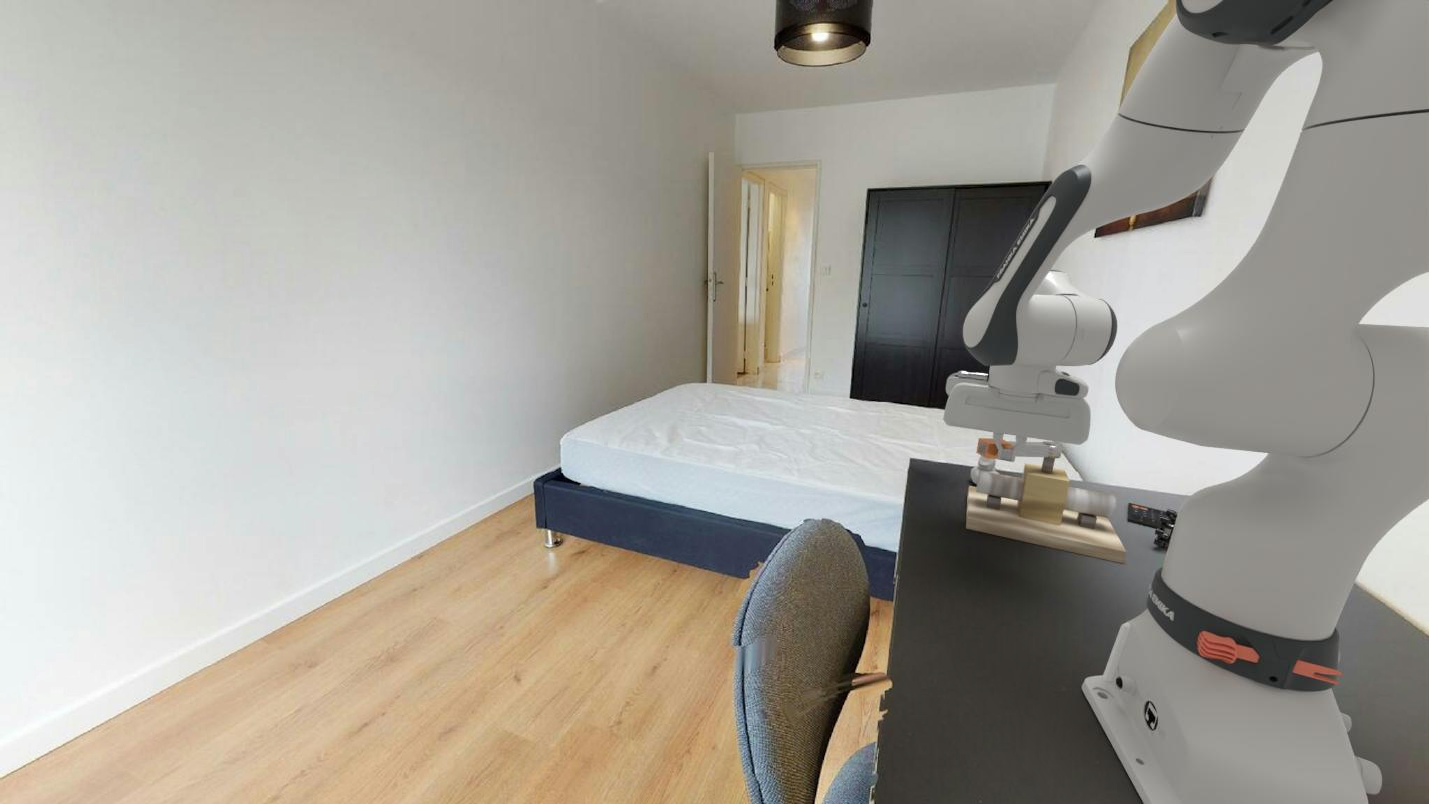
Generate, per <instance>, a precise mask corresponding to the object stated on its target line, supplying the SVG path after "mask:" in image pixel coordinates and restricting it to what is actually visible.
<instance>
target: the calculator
mask: <svg viewBox="0 0 1429 804" xmlns="http://www.w3.org/2000/svg"><path fill="white" fill-rule="evenodd" d="M1166 511H1167V510H1161V509H1156V508H1153V507H1149V506H1144V505H1141V504H1140V505H1139V504H1135V503H1132V502H1128V504H1127V517H1126V518H1127V520H1126V521H1127V523H1131V524H1135V525H1139V526H1142V527H1147V528H1151V529H1154V530H1156V529H1157V528H1159V527H1160V525H1161V523H1160V518H1161V517H1162V516H1164V517H1166ZM1174 520H1176V518H1175V517H1174Z"/></svg>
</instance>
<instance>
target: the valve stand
mask: <svg viewBox="0 0 1429 804" xmlns="http://www.w3.org/2000/svg"><path fill="white" fill-rule="evenodd" d="M1055 460H1056V458H1048V457H1043V461H1042V464H1041V465H1037V464H1032V463H1024V466H1023V471H1022V472H1023V473H1022V477H1017V476H1011V475H1008V474H1007V475H1005V474H1000V473H999V474H996V473H990V472H984V471H979V475H978V481H977V484H976V486H972V485H968V490H967V496H966V498H967V499H966V500H967V501H966V519H965V520H966V521H965V523H966V524H965V528H966V530H970V531H975V532H981V533H985V534H989V535H994V536H999V537H1002V538H1007V539H1011V540H1016V541H1019V542H1020V541H1021V542H1025V543H1030V544H1034V545H1037V546H1038V545H1039V546H1042V547H1043V546H1044V547H1047V548H1052V549H1056V550H1061V551H1065V552H1070V553H1074V554H1079V555H1084V556H1088V557H1093V558H1096V559H1103V560H1107V561H1110V562H1114V563H1119V564H1124V563H1125V561H1126V557H1127V550H1126V549H1125V547H1124V544H1123V542H1122V541H1121V539H1120V537H1119V536H1118V533H1116V530H1115V529H1114V527H1113V524H1111V522H1110V520H1112V519H1113V518H1114V516H1115V514H1116V509H1117V497H1116V495H1115V493H1114V494H1112V493H1108V492H1101V491H1096V490H1090V489H1085V488H1078V487H1073V486H1070V483H1071V481H1070V479H1069V478H1070V477H1069V476H1068V474H1067V472H1066V470H1065V469H1064V468H1063V469H1062V468H1057V467H1056V468H1055V467H1054V466H1055ZM1109 519H1110V520H1109Z"/></svg>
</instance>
